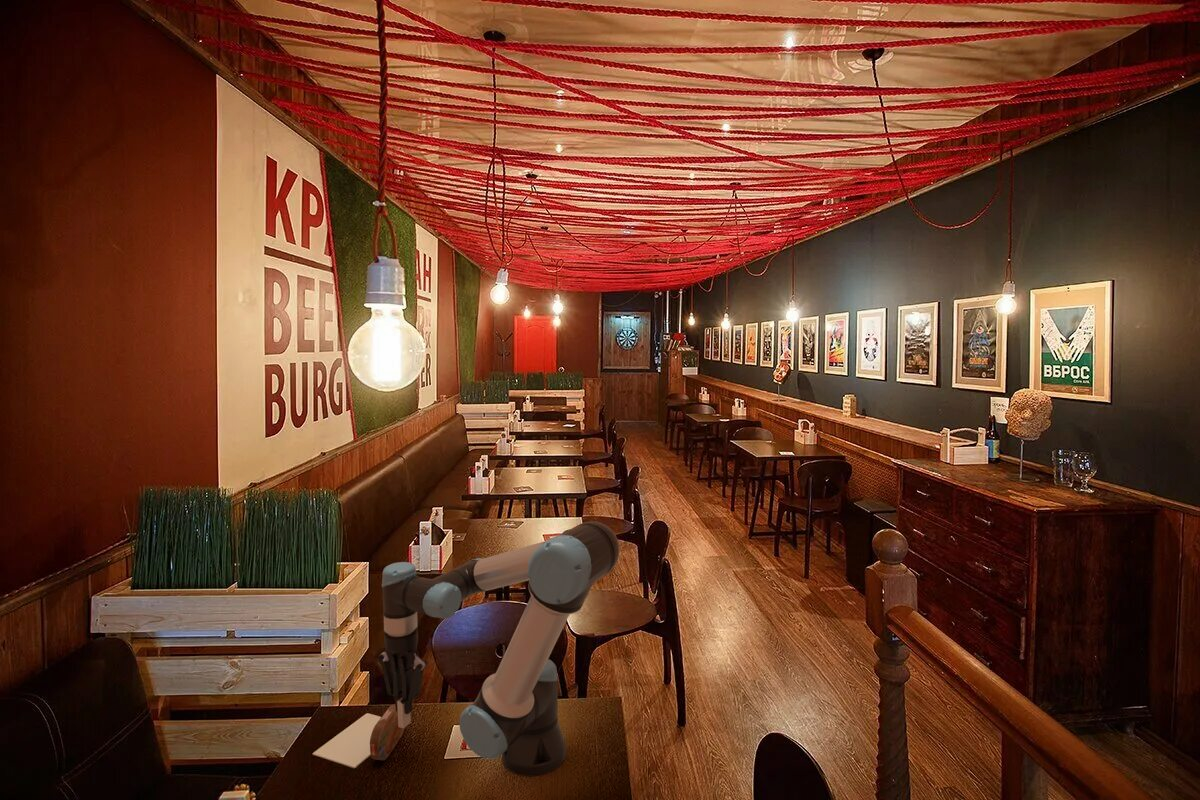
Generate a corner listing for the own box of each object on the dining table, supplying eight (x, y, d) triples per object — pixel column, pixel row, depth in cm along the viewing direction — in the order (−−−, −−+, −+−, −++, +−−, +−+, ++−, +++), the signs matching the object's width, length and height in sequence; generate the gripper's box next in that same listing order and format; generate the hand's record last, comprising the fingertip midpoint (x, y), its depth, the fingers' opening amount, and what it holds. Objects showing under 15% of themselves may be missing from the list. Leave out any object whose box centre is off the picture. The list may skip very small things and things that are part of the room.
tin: (380, 768, 150) (380, 734, 149) (367, 766, 151) (367, 733, 150) (407, 728, 165) (408, 697, 164) (395, 727, 166) (396, 696, 165)
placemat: (406, 725, 167) (406, 724, 167) (354, 768, 151) (354, 767, 151) (367, 714, 172) (367, 713, 172) (312, 754, 156) (312, 753, 156)
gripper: (433, 627, 154) (436, 722, 156) (390, 618, 159) (393, 710, 161) (412, 641, 147) (416, 740, 149) (367, 631, 152) (371, 726, 154)
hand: (404, 724), depth 155 cm, fingers closed
